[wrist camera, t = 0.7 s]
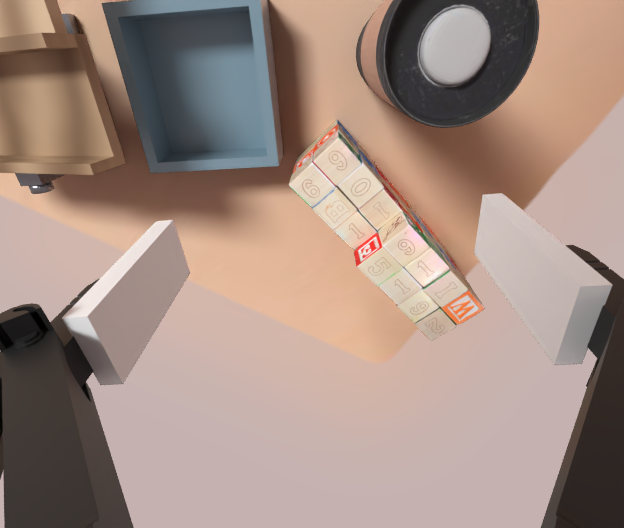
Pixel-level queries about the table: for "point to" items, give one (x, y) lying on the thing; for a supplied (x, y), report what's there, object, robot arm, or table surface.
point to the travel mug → (447, 56)
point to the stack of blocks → (383, 233)
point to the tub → (199, 81)
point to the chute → (50, 96)
